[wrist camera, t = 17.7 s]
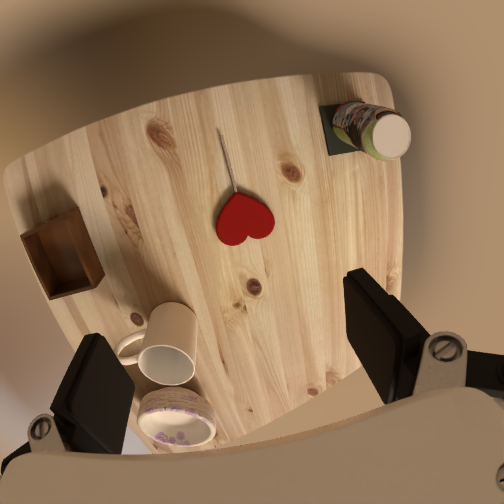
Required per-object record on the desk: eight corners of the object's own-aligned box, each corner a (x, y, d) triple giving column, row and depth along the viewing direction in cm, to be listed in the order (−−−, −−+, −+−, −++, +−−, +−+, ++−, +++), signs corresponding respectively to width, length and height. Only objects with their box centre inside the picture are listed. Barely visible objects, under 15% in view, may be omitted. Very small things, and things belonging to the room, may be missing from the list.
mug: (195, 300, 44) (191, 344, 34) (200, 339, 47) (198, 385, 37) (121, 301, 43) (102, 343, 33) (132, 340, 46) (118, 383, 36)
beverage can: (366, 103, 35) (417, 98, 24) (368, 153, 38) (418, 164, 27) (326, 100, 34) (368, 90, 23) (328, 153, 37) (370, 162, 26)
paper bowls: (154, 420, 55) (150, 447, 48) (132, 376, 49) (125, 407, 42) (220, 418, 56) (221, 447, 49) (209, 374, 51) (209, 406, 43)
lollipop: (190, 143, 35) (221, 247, 41) (189, 143, 34) (221, 250, 40) (251, 127, 35) (277, 232, 41) (252, 126, 34) (278, 234, 40)
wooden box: (33, 226, 36) (19, 235, 32) (78, 206, 36) (65, 215, 32) (60, 287, 41) (49, 300, 37) (105, 274, 41) (96, 288, 37)
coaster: (318, 106, 35) (319, 106, 35) (363, 101, 35) (364, 101, 35) (328, 155, 38) (329, 155, 37) (371, 148, 38) (373, 148, 38)
